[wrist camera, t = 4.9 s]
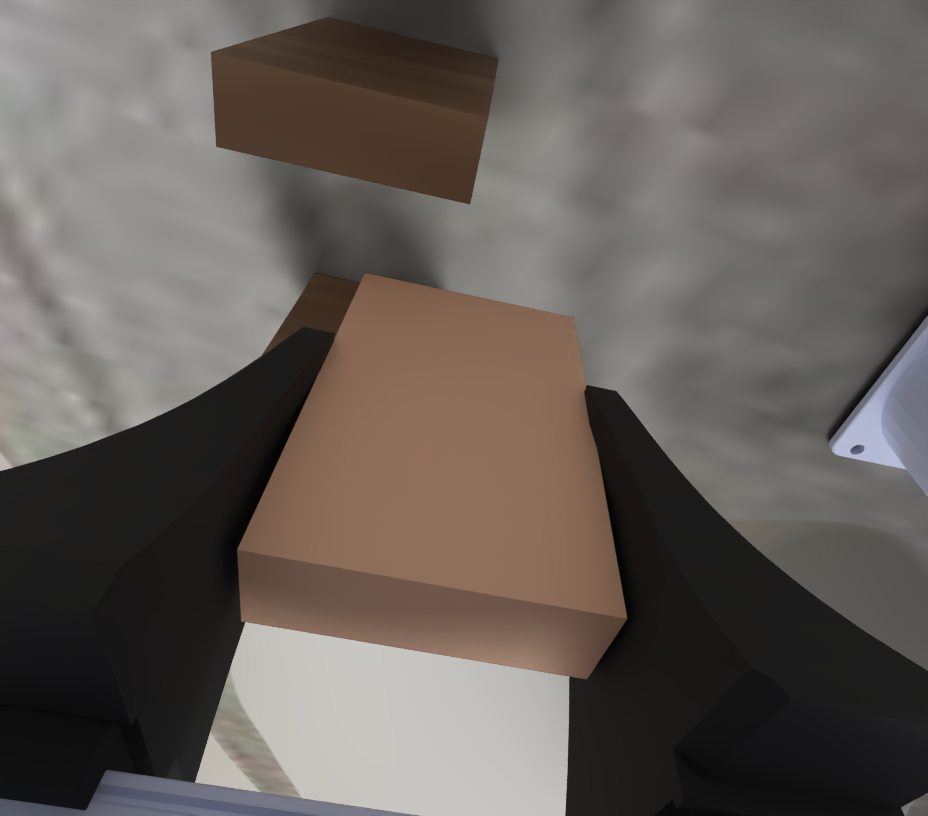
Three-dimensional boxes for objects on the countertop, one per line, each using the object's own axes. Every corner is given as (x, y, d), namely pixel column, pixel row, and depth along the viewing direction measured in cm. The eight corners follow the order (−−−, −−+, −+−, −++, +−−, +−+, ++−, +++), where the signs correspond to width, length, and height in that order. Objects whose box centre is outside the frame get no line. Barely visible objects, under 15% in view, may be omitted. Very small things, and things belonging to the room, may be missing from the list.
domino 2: (315, 273, 22) (230, 403, 15) (448, 302, 22) (420, 441, 15) (313, 311, 22) (233, 448, 16) (440, 338, 23) (412, 483, 16)
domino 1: (327, 17, 17) (210, 51, 10) (498, 59, 17) (487, 117, 11) (324, 79, 18) (216, 146, 11) (486, 118, 18) (470, 204, 12)
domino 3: (365, 272, 14) (237, 549, 7) (574, 317, 14) (627, 618, 8) (358, 331, 14) (241, 621, 8) (554, 371, 15) (587, 678, 9)
